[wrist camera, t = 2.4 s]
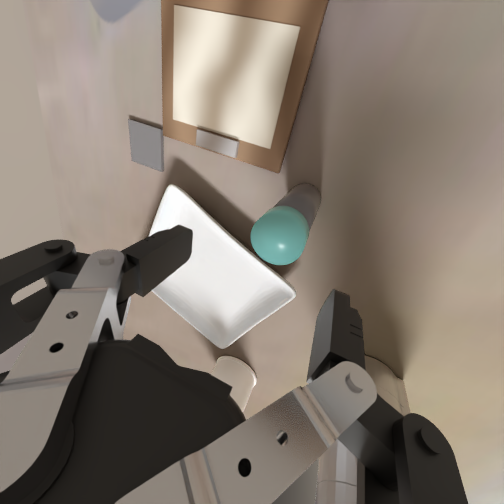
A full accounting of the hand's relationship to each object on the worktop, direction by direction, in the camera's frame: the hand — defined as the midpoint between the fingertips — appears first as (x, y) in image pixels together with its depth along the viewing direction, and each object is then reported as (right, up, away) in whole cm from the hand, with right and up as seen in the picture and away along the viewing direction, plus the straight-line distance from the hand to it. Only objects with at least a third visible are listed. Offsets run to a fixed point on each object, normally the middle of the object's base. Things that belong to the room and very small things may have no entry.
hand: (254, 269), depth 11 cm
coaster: (-14, +15, +16) cm, 26 cm away
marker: (+6, +7, +12) cm, 15 cm away
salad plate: (-7, -2, +23) cm, 24 cm away
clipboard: (-2, +18, +10) cm, 20 cm away
